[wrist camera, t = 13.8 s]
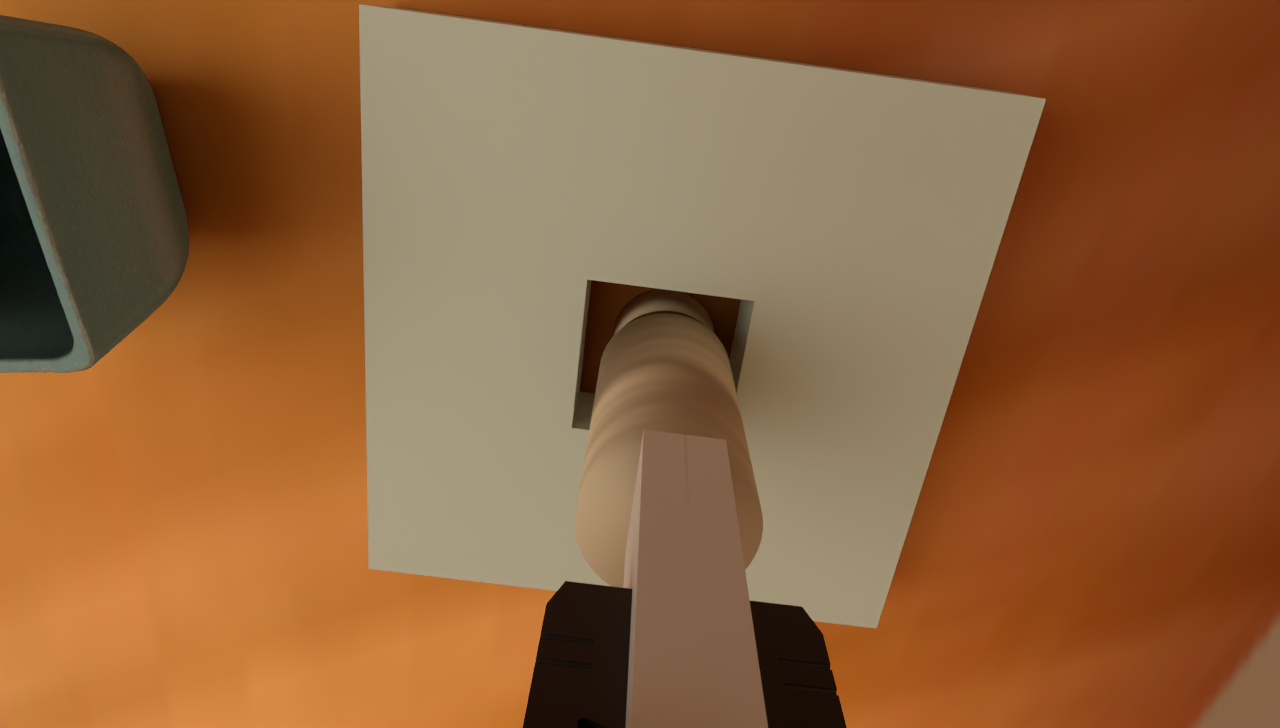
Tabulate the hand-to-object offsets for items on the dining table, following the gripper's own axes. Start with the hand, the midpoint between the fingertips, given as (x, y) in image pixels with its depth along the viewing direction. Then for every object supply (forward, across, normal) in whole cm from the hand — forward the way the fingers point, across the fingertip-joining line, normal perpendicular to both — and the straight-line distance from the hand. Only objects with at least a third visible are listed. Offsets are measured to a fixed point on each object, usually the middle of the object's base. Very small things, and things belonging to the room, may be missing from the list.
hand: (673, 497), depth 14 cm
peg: (+15, 0, -3) cm, 15 cm away
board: (+15, 0, -3) cm, 15 cm away
